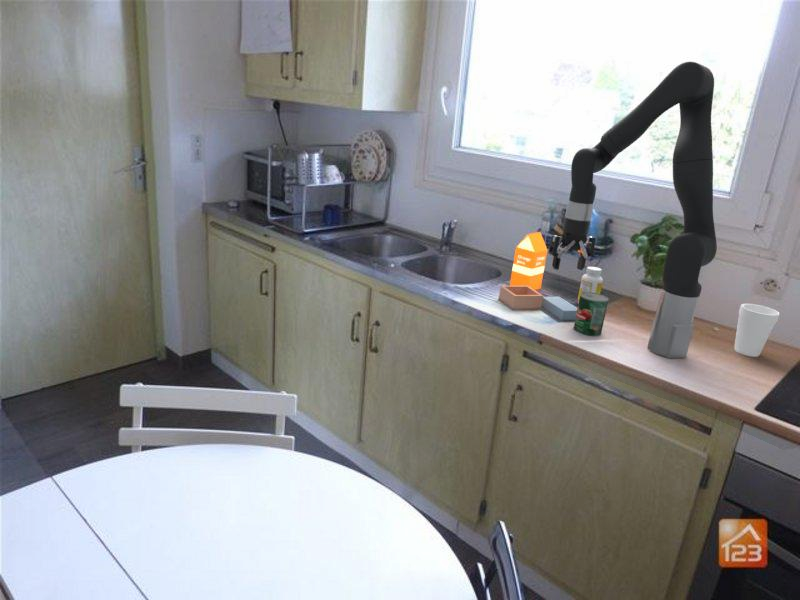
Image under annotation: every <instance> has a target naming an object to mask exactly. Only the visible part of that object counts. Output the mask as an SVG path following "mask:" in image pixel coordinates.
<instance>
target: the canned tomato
mask: <svg viewBox="0 0 800 600" xmlns="http://www.w3.org/2000/svg"><path fill="white" fill-rule="evenodd" d="M609 300H610V299H609V298H608V296H606V295H604V294H601V293H600V294H598V293H593V292H582V293H581V294H580V299H579V304H578V303H577V304H578V305H577V308H578V309H577V314H576V319H575V322H574V325H573V330H574V331H575V332H576V333H578V334H581V335H585V336H588V337H589V336H590V337H599V336H601V334H602V331H603V328H604V327H603V326H604V322H605V319H606V318H605V317H606V313H607V308H608V303H609Z"/></svg>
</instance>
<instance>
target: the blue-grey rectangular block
mask: <svg viewBox="0 0 800 600" xmlns="http://www.w3.org/2000/svg"><path fill="white" fill-rule="evenodd" d="M541 306H542V307H543V308H545V309H546V310H548V311H549V312H551V313H552V314H554V315H555V316H557V317H558V318H559V319H561V320H575V319H576V314H577V309H578V306H575V305H573V304H572V303H570V302H568V301H567V300H565V299H564V298H562V297H561V296H543V300H542V305H541Z"/></svg>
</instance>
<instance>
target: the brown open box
mask: <svg viewBox="0 0 800 600" xmlns="http://www.w3.org/2000/svg"><path fill="white" fill-rule="evenodd" d="M499 287H500V288H499V294H498V300H499V301H500V302H502V303H503V304H504V305H505V306H507V307H508V308H509V309H510V310H512V311H526V310H527V311H528V310H529V311H530V310H539V309H541V305H542V300H543V297H544V294H541V293H540V292H538V290H534V289H532V288H531V287H529V286H510V285H500V286H499Z"/></svg>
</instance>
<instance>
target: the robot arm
mask: <svg viewBox="0 0 800 600" xmlns="http://www.w3.org/2000/svg"><path fill="white" fill-rule="evenodd" d="M714 90H715V77H714V75H713V72H712V71H711V69H709V68H708V67H707V66H705V65H702V64H700V63H698V62H697V61H696V62H695V61H685V62H682V63H680V64H679V65H677V66H675V67H674V68H673V69H672V70H671V71H670V72H669V73H668V74H667V75H666V76H665V77H664V78H663V79H662V81H661V82H659V84H658V85H657V86H656V87H655V88H654V89H653V90H652V91H651V92H650V93H649V94H648V95H647V96H645V98H644V99H643V100H642V101H641V102H640V103H639V104H638V105H637V106H636V107H635V108H633V109H632V110H631V111H630V112H629V113H628V114H627V115H625V116H623V118H621V120H618V122H617V123H615V124H614V125H613V126H611V127H610V128H609V129H607V131H605V132H604V134H602V136H601V138H600V141H599V142H598V143H597V144H595V145H594V146H593V147H592V148H590V147H589V148H588V147H587V148H585V147H584V148H580V149H579V150H578V151H576V152H575V153H574V156H573V157H572V162H571V167H570V168H571V169H570V170H571V172H570V175H571V176H570V177H571V190H570V194H569V199H568V203H567V205H566V209H565V210H566V211H565V215H564V220H563V226H562V233H561V235H556V234H553V235H552V236H551V240H550V242H549V243H550V244H549V249H548V251H547V254H549V255H551V256H553V258H552V264H551V265H552V268H553V269H554V270H557V271H558V270H559V269H560V264H561V257H562V256H563V255H565V254H566V253H567V252H568V251H570V252H572V251H574V252H575V251H576V252H578V253H579V254H578V255H579V257H578V260H577V265H576V269H577V270H579V271H583V270H584V268H585V266H586V261H587V259H588V258H589V257H593V256H594V252H595V245H596V237H594V236H591V235H588V234H589V232H590V231H589V230H590V227H591V222H592V216H593V211H594V202H595V199H596V192H597V186H596V185H597V184H595V183H594V174H596V173H598V172H601V171H602V170H603V169H605V168H606V167H608V166H609V164H611V162H612V161H613V160H615V159H616V157H617V156H618V155H619V154H620V153H621V152H623V151H625V150H626V149H627V148H629V147H630V146H632V144H634V143H635V142H636V141H637V140H639V139H640V138H641V137H643V136H642V135H644V134H645V133H646V132H647V130H648V129H649V128H650V127H651V126H652V124H654V123H655V122H656V121H657V119H658V118H660V116H662V115H663V114H664V113H665V112H667V111H669V110H670V109H671V108H673V107H675V106H676V105H678V104H679V115H680V116H679V117H680V119H679V120H680V125H679V131H678V135H677V139H676V141H675V146H674V149H673V153H672V182H673V187H674V190H675V193H676V196H677V198H678V202H679V203H680V206H681V209H682V213H683V233H681V234H679V235H677V236H675V237H674V238H673V239H672V240H671V242H670V243H669V245H668V248H667V251H666V255H665V260H664V263H663V264H664V265H663V270H662V287H661V288H662V289H661V291H660V296H659V299H658V304H657V308H656V311H655V316H654V318H653V323H652V328H651V330H650V331H651V332H650V335H649V339H648V343H647V349H648V350H649V351H651V352H652V353H654V354H657V355H660V356H663V357H666V358H667V359H676V358H677V359H678V358H679V359H680V358H687V355H688V352H689V349H690V343H691V341H692V337H693V334H694V331H695V330H694V329H695V328H696V327H695V324H694V323H693V321H694V318H695V314H696V311H697V307H698V303H699V300H700V296H701V292H702V287H703V286H702V284H701V283H699V277H700V273H701V268H702V267H704V266H706V265H709V264H710V263H711V262H712V261H713V260H714V258H715V256H716V255H717V251H718V250H717V249H718V246H717V245H718V244H717V237H716V229H715V220H714V219H715V218H714V209H713V208H714V184H713V183H714V154H713V132H712V129H713V128H712V108H713V100H714ZM587 235H588V236H587ZM585 244H586V245H585ZM585 247H586V248H585Z"/></svg>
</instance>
